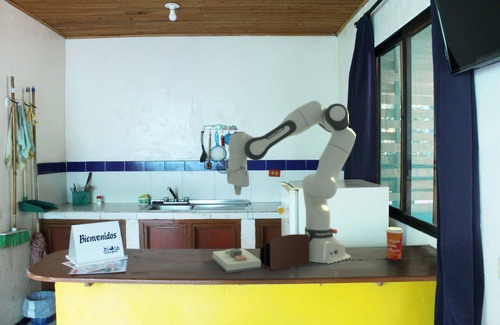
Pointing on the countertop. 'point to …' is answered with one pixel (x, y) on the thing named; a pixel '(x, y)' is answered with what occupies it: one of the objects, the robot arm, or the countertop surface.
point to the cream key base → (234, 266)
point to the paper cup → (394, 242)
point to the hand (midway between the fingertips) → (237, 194)
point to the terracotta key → (240, 258)
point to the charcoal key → (235, 252)
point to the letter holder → (285, 252)
